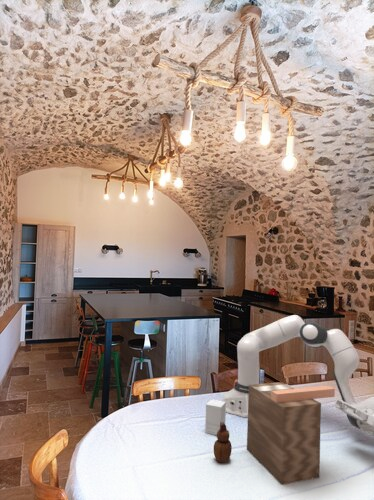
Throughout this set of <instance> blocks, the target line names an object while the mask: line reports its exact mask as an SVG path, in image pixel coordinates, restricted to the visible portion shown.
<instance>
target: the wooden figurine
mask: <svg viewBox="0 0 374 500" xmlns="http://www.w3.org/2000/svg"><path fill="white" fill-rule="evenodd" d="M232 447H233V446H232V442H231V441H230V431H229V430H228V429H227V425H226V423H225V424H224V422H223V423H221V422H220V430H218V432H217V435H216V440H215V441H214V444H213V455H214V457H215V460H216V462H219V463H227V462H228V461H230V458H231V456H232V451H233V450H232Z"/></svg>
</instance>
